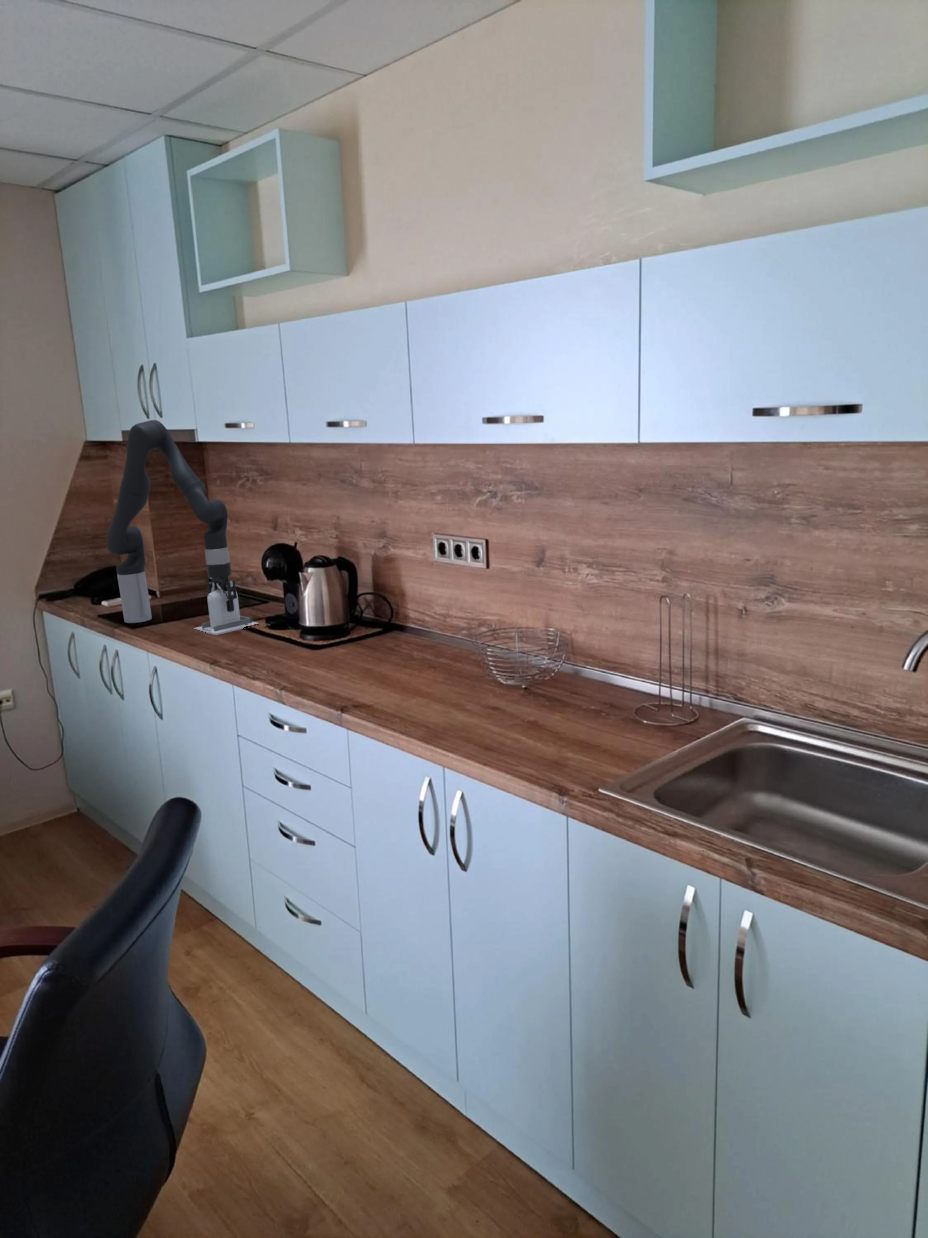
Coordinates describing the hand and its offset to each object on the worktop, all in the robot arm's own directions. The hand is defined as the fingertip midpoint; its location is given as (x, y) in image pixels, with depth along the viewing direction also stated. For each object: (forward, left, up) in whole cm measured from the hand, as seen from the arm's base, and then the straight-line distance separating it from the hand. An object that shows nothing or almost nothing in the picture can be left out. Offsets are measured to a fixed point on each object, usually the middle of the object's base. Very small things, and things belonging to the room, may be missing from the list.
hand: (224, 610), depth 297 cm
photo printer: (0, 0, -5) cm, 5 cm away
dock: (0, 0, -6) cm, 6 cm away
